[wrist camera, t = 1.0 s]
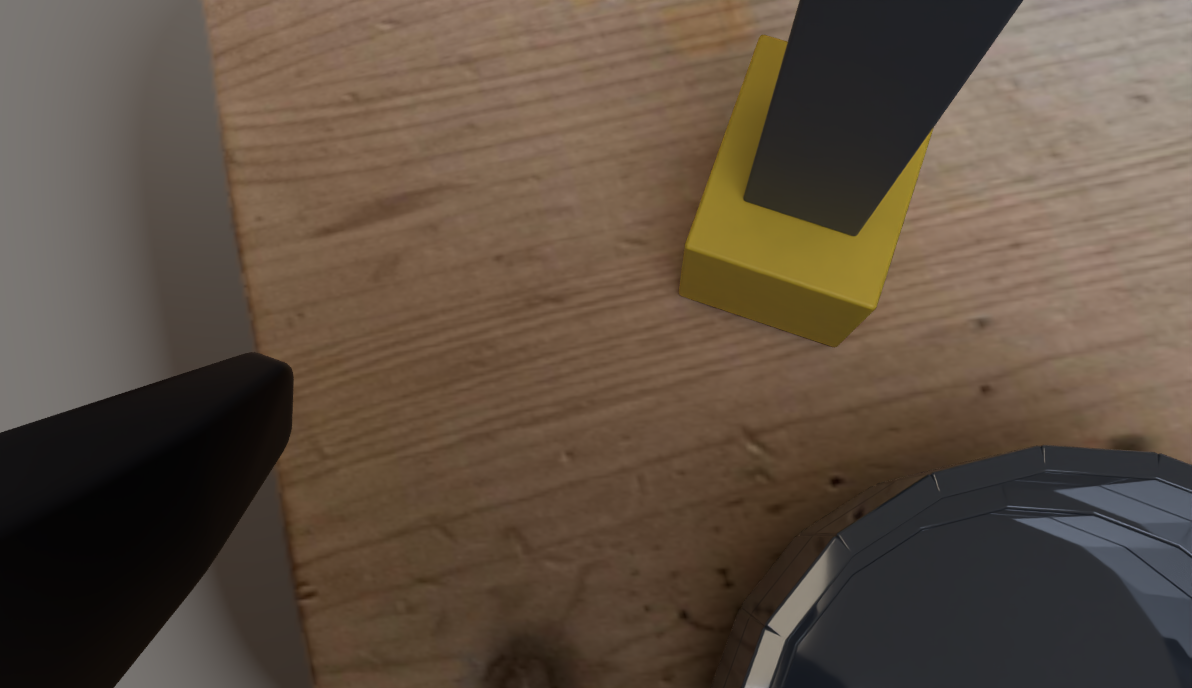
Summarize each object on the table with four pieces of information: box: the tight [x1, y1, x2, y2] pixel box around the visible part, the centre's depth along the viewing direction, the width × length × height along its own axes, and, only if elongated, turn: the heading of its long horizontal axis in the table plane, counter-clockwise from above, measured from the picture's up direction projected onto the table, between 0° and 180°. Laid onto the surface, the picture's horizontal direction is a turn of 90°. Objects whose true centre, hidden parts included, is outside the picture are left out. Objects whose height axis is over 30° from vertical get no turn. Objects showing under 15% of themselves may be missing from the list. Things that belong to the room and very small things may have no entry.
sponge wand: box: [679, 0, 1023, 347], centre depth 16 cm, size 5×4×14 cm
